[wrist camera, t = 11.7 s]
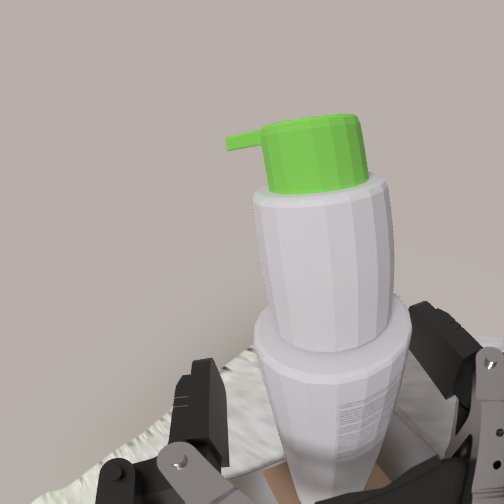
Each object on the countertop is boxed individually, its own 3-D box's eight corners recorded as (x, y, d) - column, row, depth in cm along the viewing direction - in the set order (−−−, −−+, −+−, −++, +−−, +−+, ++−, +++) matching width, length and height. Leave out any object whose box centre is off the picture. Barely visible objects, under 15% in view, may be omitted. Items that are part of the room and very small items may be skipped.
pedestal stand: (383, 411, 23) (392, 372, 21) (454, 481, 13) (484, 452, 10) (199, 494, 18) (170, 470, 16) (241, 594, 8) (215, 600, 5)
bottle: (326, 452, 16) (293, 125, 8) (375, 478, 12) (432, 112, 5) (283, 493, 13) (166, 149, 6) (334, 525, 10) (351, 103, 2)
